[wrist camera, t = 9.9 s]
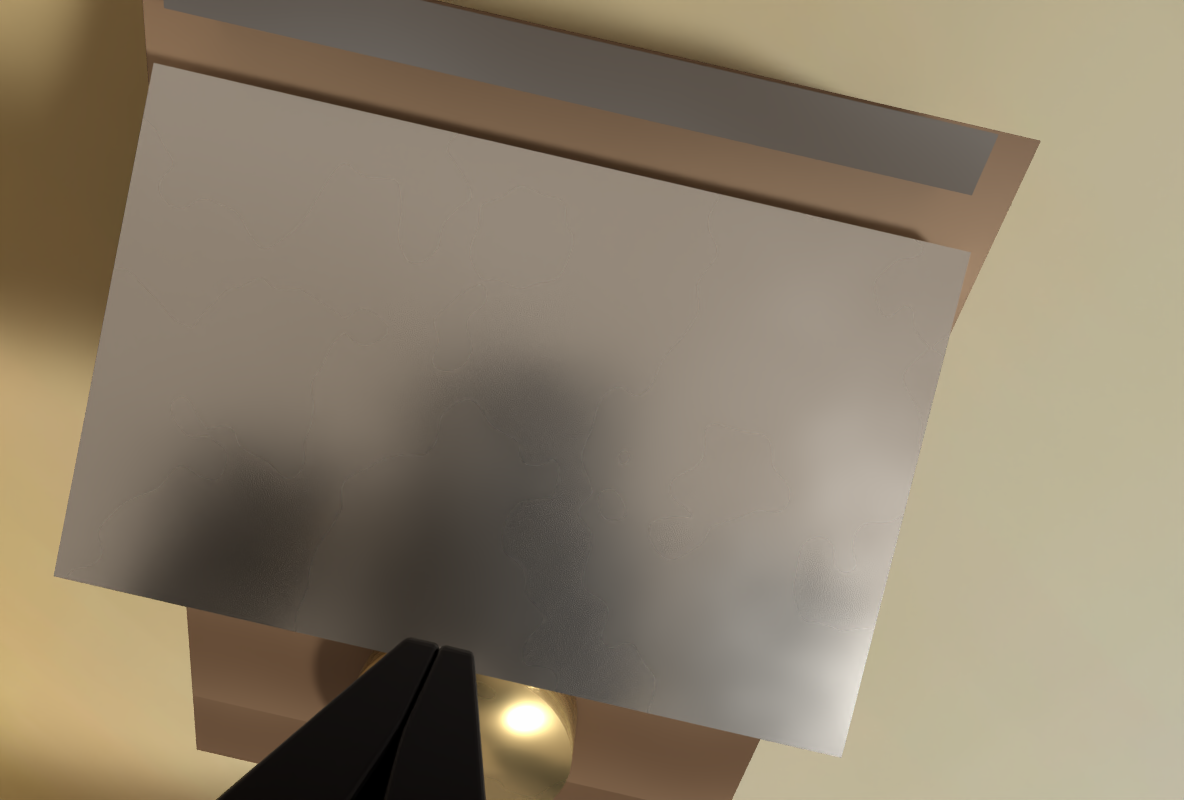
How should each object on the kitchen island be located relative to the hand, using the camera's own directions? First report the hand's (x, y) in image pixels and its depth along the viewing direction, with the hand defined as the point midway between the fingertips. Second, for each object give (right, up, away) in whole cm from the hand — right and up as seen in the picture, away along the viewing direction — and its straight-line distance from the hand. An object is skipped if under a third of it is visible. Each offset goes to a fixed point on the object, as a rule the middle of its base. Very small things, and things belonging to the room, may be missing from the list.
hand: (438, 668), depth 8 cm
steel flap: (+1, +3, +1) cm, 3 cm away
